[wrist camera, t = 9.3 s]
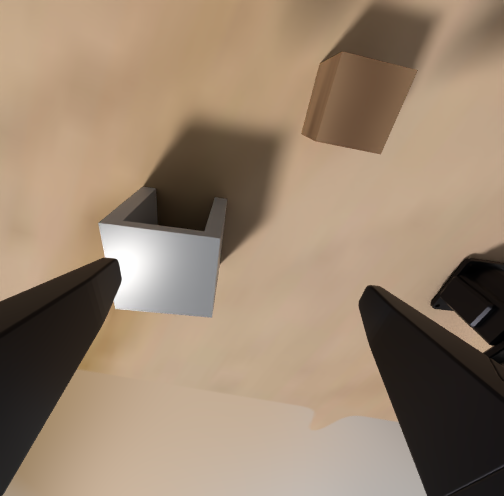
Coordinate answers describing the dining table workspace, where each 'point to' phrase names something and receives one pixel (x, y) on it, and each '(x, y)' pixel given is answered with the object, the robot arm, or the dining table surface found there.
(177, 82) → the dining table surface
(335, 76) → the walnut block
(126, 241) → the grey cover
